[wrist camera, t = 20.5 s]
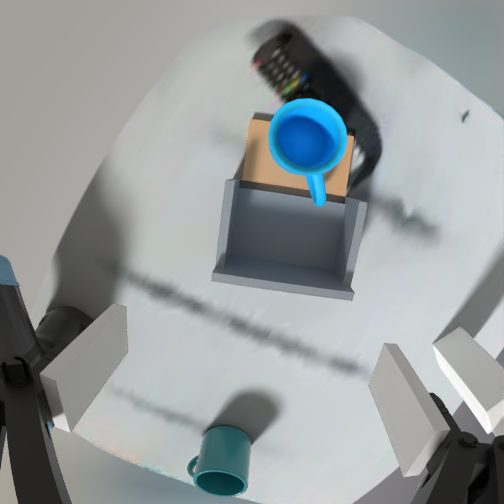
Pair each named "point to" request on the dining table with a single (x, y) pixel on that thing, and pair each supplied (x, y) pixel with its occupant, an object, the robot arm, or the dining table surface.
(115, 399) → the dining table surface
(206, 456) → the cup
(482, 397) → the milk
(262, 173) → the panel
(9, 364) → the robot arm
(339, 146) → the mug
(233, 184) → the box
